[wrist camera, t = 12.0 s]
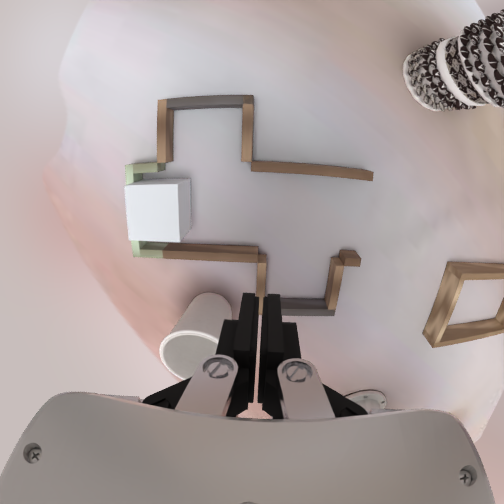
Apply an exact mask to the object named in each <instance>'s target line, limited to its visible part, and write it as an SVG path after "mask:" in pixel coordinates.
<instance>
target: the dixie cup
mask: <svg viewBox="0 0 504 504" xmlns="http://www.w3.org/2000/svg"><path fill="white" fill-rule="evenodd" d="M224 319H229V320H232V309H231V306H230V304H229V302H228V301H227V300H226V299H225V298H224V297H222V296H221V295H219V294H216V293H211V292H207V293H202V294H199V295H198V296H196V297H195V298H194V299H193V301H192V302H191V303H190V305H189V306H188V308H187V309H186V311H185V312H184V314H183V315H182V317H181V318H180V319H179V321H178V322H177V324H176V325H175V327H174V328H173V330H172V331H171V333H170V334H169V335H168V336H166V337H165V338H164V339H163V341H162V343H161V345H160V357H161V360H162V362H163V363H164V365H165V366H166V368H167V369H168V370H169V371H170V372H171V373H173V374H174V375H175V376H177V377H178V378H180V379H182V380H186V379H188V378H190V377H192V376H193V374H194V372H195V371H196V369H197V367H198V365H199V363H200V362H201V361H202V360H203V359H204V358H206V357H208V356H211V355H215V354H216V349H217V345H218V341H219V337H220V333H221V329H222V325H223V321H224Z"/></svg>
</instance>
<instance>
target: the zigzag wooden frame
mask: <svg viewBox="0 0 504 504" xmlns="http://www.w3.org/2000/svg"><path fill="white" fill-rule="evenodd" d="M202 108H243V119H242V155H241V161H242V162H251V171H253V172H277V173H294V174H308V175H320V176H331V177H341V178H350V179H359V180H367V181H373V172H371V171H368V170H363V169H355V168H347V167H338V166H328V165H318V164H306V163H292V162H275V161H252V153H253V120H254V96H253V95H214V96H195V97H182V98H172V99H163V100H158V111H157V162H147V163H134V164H129V165H125V174H126V185H128V184H130V183H133V182H136V181H139V180H142V179H143V178H142V173H150V172H159V171H163V170H165V163H166V162H171V161H173V118H174V110H185V109H202ZM131 243H132V251H133V257H146V258H164V259H184V260H205V261H226V262H249V263H258V264H257V288H256V297H259V315H262V310H263V297H265V281H266V264H267V262H266V255H264V254H258V246H236V245H210V244H183V243H155V242H147V241H135V240H131ZM360 263H361V258H360V256H359V255H358V254H357V253H356V251H351V250H340V253H339V258H338V257H331V262H330V268H329V275H328V281H327V287H326V292H325V298H324V299H296V298H280V301H281V314H282V315H284V316H334V314H335V310H336V305H337V301H338V296H339V291H340V286H341V281H342V275H343V270H344V266H358V267H360Z"/></svg>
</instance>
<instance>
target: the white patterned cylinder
mask: <svg viewBox="0 0 504 504" xmlns="http://www.w3.org/2000/svg"><path fill="white" fill-rule="evenodd" d="M500 13H501V14H500ZM500 13H498V14H496V13H493V14H492V15H491V17H490V16H487V17H486V18H485V20H479V21H478V24H477V23H472V24H471V25H470V27H468V26H466V27H464V29H463V30H461V32H460V35H459V36H458V37H451V38H449V39H447V40H445V39H443V38H440V39H439V40H438V42H436V41H434V42H433V43H432V44H431V45H425V46H424V47H423V48H419V49H418V50H417V51H414V52H412V54H410V55H408V56H407V58H406V59H405V61H404V63H403V77H404V80H405V84H406V87H407V88H408V90H409V92H410V93H411V95H412V96H413V98H414V99H415V100H416V101H417V102H418V103H419V104H421V105H422V106H423V107H425V108H427V109H429V110H431V111H445V109H446V108H447V109H448V110H449V111H451V110H452V107H455V109H456V110H460V109H462V107H463V108H464V109H470V107H471V108H473V109H475V108H476V107H477V106H484V105H485V104H491V105H492V106H494V107H501V108H504V10H501V12H500ZM495 20H496V21H497V23H496V22H495Z"/></svg>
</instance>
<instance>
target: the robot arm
mask: <svg viewBox="0 0 504 504" xmlns="http://www.w3.org/2000/svg"><path fill="white" fill-rule="evenodd" d="M258 316H259V297H256V296H255V293H243V296H242V302H241V308H240V314H239V320H229V319H224V321H223V325H222V329H221V333H220V337H219V341H218V345H217V349H216V354H215V355H211V356H208V357H206V358H204V359H203V360H202V361H201V362H200V363H199V365H198V367H197V369H196V371H195V372H194V374H193V376H192V377H190V378H188V379H186V380H183V381H181V382H179V383H177V384H175V385H173V386H170V387H168V388H166V389H164V390H161V391H159V392H157V393H154V394H152V395H150V396H148V397H146V398H145V399H143V400H142V399H140V398H139V397H133V396H116V395H105V394H97V393H89V392H65V393H60V394H57V395H55V396H53V397H52V398H50V399H49V400H48V401H47V402H46V403H45V404H44V405H43V406H42V407H41V408H40V410H39V411H38V412H37V413H36V415H35V416H34V417H33V419H32V420H31V422H30V423H29V425H28V426H27V428H26V429H25V431H24V432H23V434H22V436H21V438H20V439H19V441H18V443H17V444H16V446H15V448H14V450H13V452H12V454H11V456H10V458H9V460H8V461H7V464H6V466H5V467H4V469H3V472H2V474H1V476H0V504H495V501H494V497H493V493H492V490H491V487H490V484H489V481H488V478H487V475H486V472H485V469H484V466H483V464H482V461H481V458H480V456H479V454H478V452H477V449H476V447H475V445H474V443H473V441H472V439H471V437H470V435H469V434H468V432H467V430H466V429H465V427H464V426H463V424H462V423H461V422H460V421H459V420H458V419H457V418H456V417H455V416H454V415H452V414H450V413H448V412H444V411H440V410H431V409H411V410H395V409H385V407H386V403H387V402H386V398H385V396H384V395H383V394H382V393H381V392H378V391H362V392H357V393H354V394H351V395H348V396H346V397H344V396H343V395H341V394H339V393H338V392H336V391H334V390H333V389H331V388H329V387H328V386H326V385H324V384H323V383H322V382H321V380H320V377H319V375H318V372H317V370H316V368H315V366H314V365H313V364H312V363H310V362H309V361H306V360H304V359H301V353H300V346H299V339H298V332H297V325H296V323H291V322H282V314H281V301H280V294H268V297H263V310H262V326H261V342H260V363H259V383H258V403H263V404H262V410H264V411H265V412H267V413H268V414H269V415H270V416H271V419H254V418H238V414H240V413H241V412H243V411H245V410H248V403H253V399H254V384H255V368H256V352H257V335H258Z"/></svg>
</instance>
